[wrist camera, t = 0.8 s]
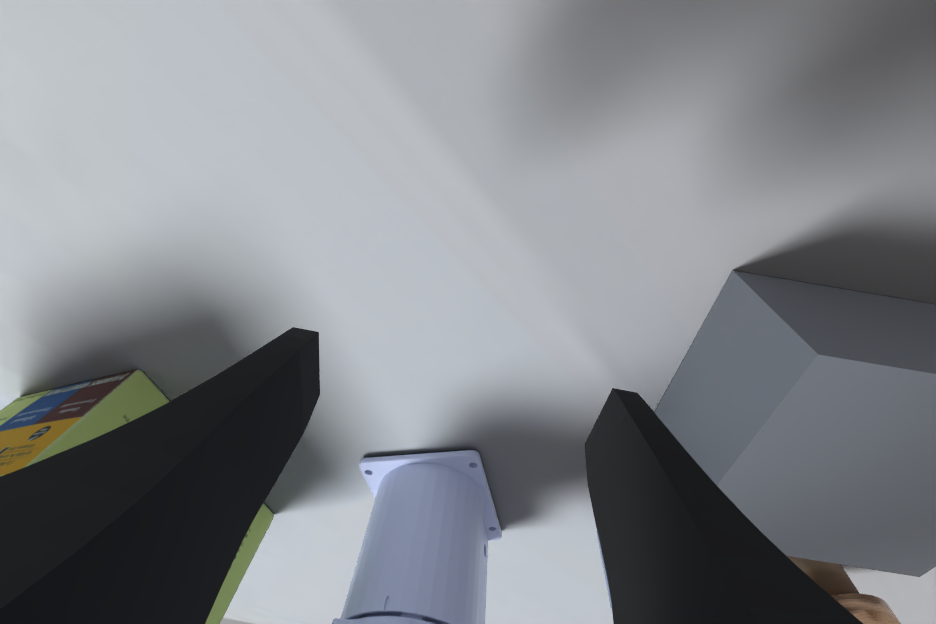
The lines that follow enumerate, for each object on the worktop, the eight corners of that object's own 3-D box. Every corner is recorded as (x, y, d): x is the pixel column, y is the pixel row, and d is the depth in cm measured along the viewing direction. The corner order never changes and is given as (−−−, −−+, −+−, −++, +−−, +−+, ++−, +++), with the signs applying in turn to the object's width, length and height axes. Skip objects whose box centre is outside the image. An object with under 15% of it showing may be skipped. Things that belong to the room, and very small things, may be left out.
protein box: (139, 363, 24) (-281, 723, 11) (278, 514, 32) (120, 835, 19) (15, 394, 27) (-450, 722, 14) (171, 528, 34) (-34, 821, 21)
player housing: (834, 467, 24) (919, 576, 19) (641, 436, 24) (676, 537, 19) (987, 313, 18) (1167, 412, 13) (732, 270, 18) (818, 354, 13)
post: (826, 567, 30) (861, 624, 27) (777, 569, 31) (806, 624, 28) (837, 543, 28) (876, 601, 25) (785, 545, 29) (817, 601, 26)
